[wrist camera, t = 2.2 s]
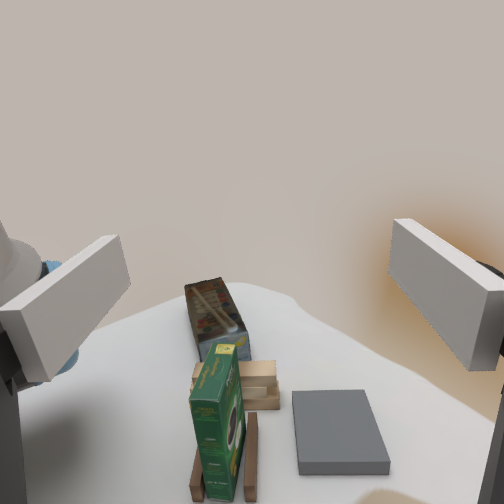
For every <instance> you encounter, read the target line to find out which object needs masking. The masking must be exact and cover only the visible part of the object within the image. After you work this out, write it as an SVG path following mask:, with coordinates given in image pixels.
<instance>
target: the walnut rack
mask: <svg viewBox="0 0 504 504" xmlns="http://www.w3.org/2000/svg"><path fill="white" fill-rule="evenodd" d="M257 447H258V422H257V412H248V423H247V440H246V456H245V473H244V492H245V500H246V502H256V486H257ZM189 487H190V491H191V495H192V500H193V502H203V499H204V493H205V482H204V477H203V471H202V466H201V460H200V455H199V450H198V447H197V451H196V456H195V461H194V466H193V470H192V475H191V480H190V485H189Z"/></svg>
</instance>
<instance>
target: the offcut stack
mask: <svg viewBox="0 0 504 504" xmlns="http://www.w3.org/2000/svg"><path fill="white" fill-rule="evenodd" d="M238 363H239V372H240V381H241V389H242V396H243V405H244V410H275V409H280V407H279V387H278V381H277V379H276V360H274V361H238ZM203 364H204V362H201V363H196V365H195V369H194V372H193V375H192V384H191V387H190V393H191V392H192V390H193V388H194V385H195V383H196V380H197V378H198V376H199V373H200V371H201V369H202V366H203Z"/></svg>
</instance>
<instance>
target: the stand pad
mask: <svg viewBox="0 0 504 504" xmlns="http://www.w3.org/2000/svg"><path fill="white" fill-rule="evenodd" d="M292 404H293V414H294V425H295V435H296V446H297V456H298V467H299V475H389V469H390V462H391V461H390V459H389V456H388V453H387V450H386V448H385V445H384V442H383V440H382V437H381V434H380V431H379V429H378V426H377V423H376V421H375V418H374V415H373V412H372V410H371V407H370V404H369V402H368V399H367V396H366V393H365V391H364V390H319V391H292Z"/></svg>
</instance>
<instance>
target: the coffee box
mask: <svg viewBox="0 0 504 504" xmlns="http://www.w3.org/2000/svg"><path fill="white" fill-rule="evenodd" d="M189 403H190V409H191V414H192V418H193V424H194V429H195V434H196V439H197V445H198V450H199V455H200V460H201V466H202V471H203V477H204V482H205V488H206V493H207V498H208V499H210V500H216V501H224V502H229V501H233V497H234V492H235V487H236V483H237V476H238V470H239V465H240V460H241V455H242V450H243V445H244V439H245V434H246V424H245V414H244V405H243V396H242V389H241V381H240V372H239V363H238V356H237V346H236V343H227V342H213V343H212V345H211V348H210V350H209V352H208V355H207V357H206V359H205V362H204V364H203V366H202V369H201V371H200V373H199V376H198V378H197V380H196V383H195V385H194V388H193V390H192V392H191V395H190V397H189Z"/></svg>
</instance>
